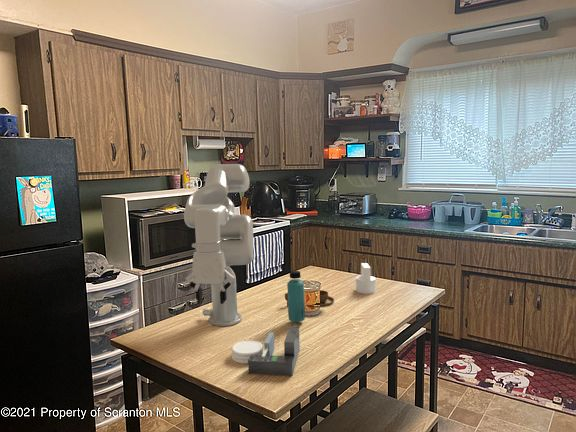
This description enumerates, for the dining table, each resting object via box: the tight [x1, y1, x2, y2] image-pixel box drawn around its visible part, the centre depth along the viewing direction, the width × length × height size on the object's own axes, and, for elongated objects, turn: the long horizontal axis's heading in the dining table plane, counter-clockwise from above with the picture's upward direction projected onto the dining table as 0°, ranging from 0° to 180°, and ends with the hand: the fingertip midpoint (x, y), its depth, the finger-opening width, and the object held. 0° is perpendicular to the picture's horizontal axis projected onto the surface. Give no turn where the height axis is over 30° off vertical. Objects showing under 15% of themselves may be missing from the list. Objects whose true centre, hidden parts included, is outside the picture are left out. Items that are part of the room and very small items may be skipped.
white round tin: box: [231, 340, 264, 364], centre depth 138 cm, size 10×10×4 cm
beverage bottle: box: [286, 270, 306, 323], centre depth 164 cm, size 6×7×20 cm
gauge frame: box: [247, 325, 301, 377], centre depth 134 cm, size 13×17×8 cm
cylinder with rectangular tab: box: [355, 262, 377, 295], centre depth 200 cm, size 9×9×12 cm
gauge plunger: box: [262, 332, 275, 358], centre depth 134 cm, size 2×14×6 cm, turn 171°
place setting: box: [284, 289, 335, 308], centre depth 187 cm, size 18×20×6 cm
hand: (211, 301), depth 138 cm, fingers open, 6 cm apart
